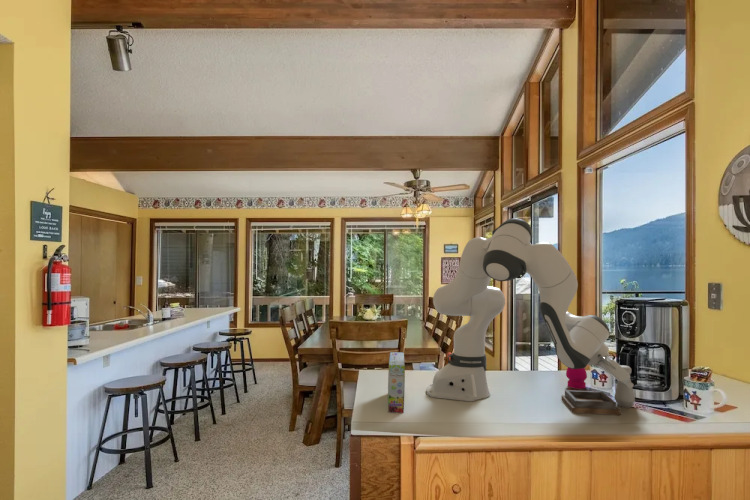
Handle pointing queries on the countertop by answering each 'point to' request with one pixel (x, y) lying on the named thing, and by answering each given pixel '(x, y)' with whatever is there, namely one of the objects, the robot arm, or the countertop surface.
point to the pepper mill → (576, 378)
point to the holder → (590, 402)
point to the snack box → (396, 382)
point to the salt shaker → (624, 392)
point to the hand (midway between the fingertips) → (626, 383)
